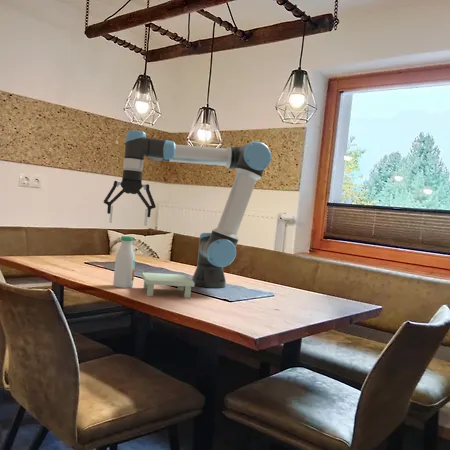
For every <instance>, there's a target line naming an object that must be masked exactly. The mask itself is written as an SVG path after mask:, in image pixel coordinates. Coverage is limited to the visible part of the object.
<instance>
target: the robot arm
mask: <svg viewBox="0 0 450 450" xmlns="http://www.w3.org/2000/svg"><path fill="white" fill-rule="evenodd" d="M124 143H125V146H124V159H123V171H122V179H121V181H117V180H114V181H113V185H112V187H111V188H110V190H109V191H108V193H107V195H106V197H105V198H104V199H103V204H105V205H107V208H106V209H107V210H106V211H107V212H106V213H107V214H109V223H112V220H113V219H112V218H113V211H114V210H113V209H114V206H113V204H114V203H115V202H116V201H117V200H118V199H119V198H120V197H121V196H122V195H123V194H124V193H126V194H132V195H136V194H137V196H138V197H139V198H140V200H141V201H142V202H143V204H144V205H145V207H146V208H145V211H144V212H145V213H144V220H143V221H144V222H143V225H144V226H147V223H148V218H150V217H151V211H152V209H155V208H156V203H155V201H154V199H153V196H152V195H153V194H152V193H151V191H150V184H148V183H147V184H143V183H142V180H143V172H142V171H143V169H144V161H145V159H144V157H146V158H149V159H150V160H151V161H153V162H168V163H170V162H171V163H183V164H184V163H185V164H186V163H187V164H196V165H198V164H200V165H209V166H210V165H211V166H224V167H225V168H226V169H232V170H235V172H236V176H235V178H234V181H233V184H232V186H231V190H230V192H229V195H228V198H227V200H226V203H225V205H224V209H223V212H222V214H221V216H220V220H219V222H218V225H217V227H216V228H213V229H212V230H211V232H202V233H200V234H199V238H198V241H199V243H198V250H197V251H198V253H197V263H196V264H197V265H196V269H195V271H194V273H193V274H192V278H191V280H192V281H193V282H194V283H195V285H194V286H198V287H203V288H212V289H213V288H214V289H219V288H225V287H226V284H227V283H226V277H225V272H224V271H225V270H224V267H227V266H230V265H231V264H232V263H233V262H234V260H236V259H235V258H236V256H237V248H236V247H237V245H238V242H239V238H238V232H239V229H240V226H241V223H242V221H243V218H244V215H245V213H246V210H247V208H248V205H249V202H250V199H251V196H252V193H253V192H254V187H255V185H256V184H257V183H256V182H258V181H259V180H261V179H262V177H263V174H264V172H265V170H266V169H267V168H268V167H269V165H270V163H271V162H272V152H271V150H270V148H269V147H268V145H266V144H265V143H264V142H260V141H251V142H249V143H247V144H244V145H239V146H227V147H226V148H225V147H224V148H222V147H213V146H212V147H210V146H199V145H188V144H187V145H186V144H176V143H175V141H173V140H168V139H158V138H151V137H147V133H146V132H144V131H142V130H137V129H135V130H134V129H133V130H128V131H127V132H126V137H125V142H124ZM119 186H120V187H121V188H122V189H121V190H120V191H119V192H118V193H117V194H116V195H115V196H114V197H113V198H112V199H110V198H111V196H112V195H113V193H114V192H115V190H116V188H118V187H119ZM142 188H143V189H144V190H145V192H146V195H147V197H148V200H149V202H150V204H149V202H148V201H147V199H146V198H145V196H144V195H143V193H142V192H141V189H142ZM109 200H110V201H109Z"/></svg>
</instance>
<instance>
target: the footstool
mask: <svg viewBox="0 0 450 450" xmlns="http://www.w3.org/2000/svg"><path fill="white" fill-rule="evenodd" d="M141 277H142V279H143V289H145V290H147V291H146V296H147V297H154V288H155V287H154V286H170V287H171V286H173V287H174V286H175V287H177V290H178V291H183V292H184V294H183V297H184V298H185V299H186V298H189V299H190V298H191V292H192V288H193V287H194V288H195V286H196V285H195V283H194V282H193V281H192V278H190V277H189V276H188V275H187V274H181V273H180V274H179V273H162V272H161V273H160V272H157V273H156V272H141Z"/></svg>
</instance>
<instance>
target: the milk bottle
mask: <svg viewBox="0 0 450 450" xmlns="http://www.w3.org/2000/svg"><path fill="white" fill-rule="evenodd" d="M120 238H121V244H120V247H119V248H118V250H117V252H116V255H115V261H114V271H113V284H112V285H113V287H116V288H121V289H128V288H133V287H134V279H135V265H136V255H135V250H134V249H133V243H134V237H133V236H130V235H129V236H127V235H122V236H121V237H120Z"/></svg>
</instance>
